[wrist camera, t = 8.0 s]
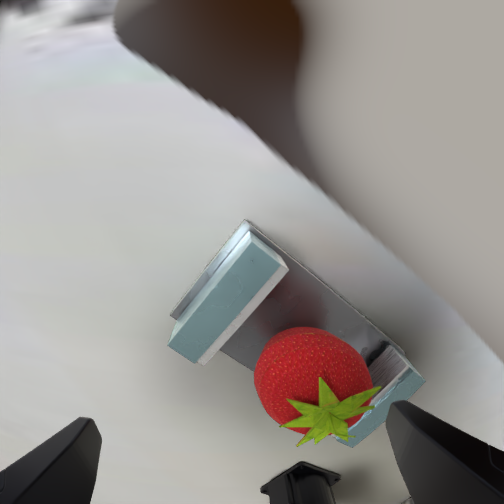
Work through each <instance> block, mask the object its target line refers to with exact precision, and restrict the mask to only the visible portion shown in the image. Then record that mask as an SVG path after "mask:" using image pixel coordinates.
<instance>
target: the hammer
mask: <svg viewBox="0 0 504 504" xmlns="http://www.w3.org/2000/svg"><path fill="white" fill-rule="evenodd" d="M401 504H414V502H413V500H412V498H410V499H408V500H406V501H404V502H403V503H401Z"/></svg>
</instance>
